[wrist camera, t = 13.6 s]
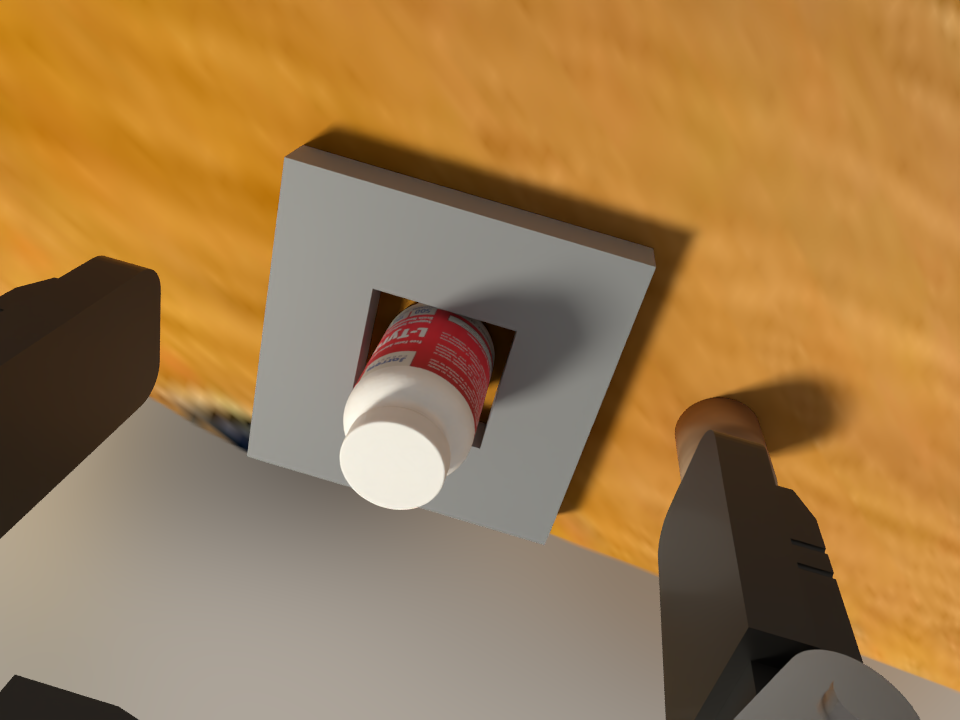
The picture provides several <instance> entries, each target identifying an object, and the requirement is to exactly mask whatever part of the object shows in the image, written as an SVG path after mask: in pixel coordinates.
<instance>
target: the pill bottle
mask: <svg viewBox="0 0 960 720" xmlns="http://www.w3.org/2000/svg"><path fill="white" fill-rule="evenodd" d="M494 359H495V352H494V346H493V342H492V339H491V337H490V334H489V332H488V331H487V329H486V327H485V326H484V325H483V323H482V322H481V321H480V320H477V319H473V318H470V317H467V316H463V315H460V314H457V313H453V312H450V311H446V310H443V309H440V308H436V307H433V306H430V305H426V304H423V303H417V304H415V305H412V306H410V307H408V308H406V309H405V310H403V311H402V312H401V313H400V314H399V315H398V316H397V317H396V318H395V319H394V320H393V321H392V323H391V324H390V326H389V327H388V329H387V330H386V332H385V334H384V335H383V337H382V339H381V341H380V343H379V344H378V346H377V348H376V350H375V351H374V353H373V355H372V357H371V358H370V360H369V362H368V364H367V365H366V367H365V369H364V371H363V372H362V374H361V376H360V378H359V379H358V381H357V383H356V384H355V386H354V388H353V390H352V392H351V394H350V396H349V398H348V400H347V403H346V406H345V409H344V416H343V426H344V432H345V436H346V437H345V439H344V441H343V443H342V446H341V449H340V466H341V469H342V472H343V475H344V477H345V479H346V480H347V482H348V483H349V485H350V486H351V487H352V488H353V489H354V490H355V491H356V492H357V493H358V494H359V495H360V496H362V497H363V498H365V499H366V500H368V501H369V502H371V503H373V504H376V505H378V506H381V507H385V508H390V509H397V510H406V509H413V508H416V507H420V506H422V505H424V504H426V503H428V502H429V501H431V500H432V499H433V498H434V497H435V496H436V495H437V494H438V493H439V492H440V490H441V488H442V486H443V484H444V481H445V479H446V476H447V475H449V474H451V473H452V472H453V471H455V470H456V469H457V468H458V467H459V466H460V465H461V464H462V463H463V461H464V460H465V459H466V457H467V455H468V453H469V451H470V449H471V446H472V444H473V441H474V437H475V433H476V430H477V426H478V422H479V418H480V415H481V411H482V408H483V404H484V400H485V396H486V393H487V389H488V386H489V382H490V379H491V375H492V371H493V366H494Z"/></svg>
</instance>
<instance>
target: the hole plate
mask: <svg viewBox="0 0 960 720" xmlns="http://www.w3.org/2000/svg"><path fill="white" fill-rule="evenodd" d="M655 268H656V264H655V257H654V250H653V248H650V247H646V246H643V245H640V244H636V243H633V242H630V241H626V240H623V239H619V238H616V237H613V236H609V235H606V234H602V233H599V232H596V231H592V230H589V229H586V228H582V227H579V226H575V225H572V224H569V223H565V222H562V221H559V220H555V219H552V218H548V217H545V216H542V215H538V214H535V213H532V212H528V211H525V210H521V209H518V208H515V207H511V206H508V205H504V204H501V203H498V202H494V201H491V200H488V199H484V198H481V197H477V196H474V195H471V194H467V193H464V192H461V191H457V190H454V189H450V188H447V187H444V186H440V185H437V184H434V183H430V182H427V181H423V180H420V179H417V178H413V177H410V176H406V175H403V174H400V173H396V172H393V171H390V170H386V169H383V168H379V167H376V166H373V165H369V164H366V163H363V162H359V161H356V160H352V159H349V158H346V157H342V156H339V155H336V154H332V153H329V152H325V151H322V150H319V149H315V148H312V147H308V146H305V145H302V146H301V147H299V148H298V149H296V150H295V151H293V152H292V153H290V154H289V155H287V156H286V157H285V158H284V166H283V174H282V182H281V190H280V198H279V206H278V214H277V222H276V230H275V238H274V246H273V254H272V262H271V270H270V278H269V286H268V294H267V302H266V310H265V318H264V326H263V334H262V342H261V350H260V358H259V366H258V374H257V382H256V390H255V398H254V406H253V414H252V422H251V430H250V438H249V446H248V454H247V456H248V457H251V458H254V459H257V460H261V461H264V462H267V463H271V464H274V465H278V466H281V467H284V468H288V469H291V470H294V471H298V472H301V473H305V474H308V475H311V476H314V477H318V478H321V479H324V480H328V481H331V482H335V483H338V484H341V485H345V486H348V487H351V486H350V485H349V483H348V482H347V480H346V479H345V477H344V475H343V472H342V469H341V466H340V449H341V446H342V443H343V441H344V439H345V437H346V436H345V432H344V426H343V416H344V409H345V406H346V403H347V400H348V398H349V396H350V394H351V392H352V390H353V388H354V386H355V384H356V383H357V381H358V379H359V378H360V376H361V374H362V372H363V371H364V369H365V366H366V361H367V356H368V351H369V347H370V342H371V337H372V332H373V327H374V322H375V318H376V313H377V308H378V303H379V298H380V293H381V291H382V292H386V293H389V294H392V295H396V296H399V297H403V298H406V299H409V300H413V301H416V302H419V303H423V304H426V305H430V306H433V307H436V308H440V309H443V310H446V311H450V312H453V313H457V314H460V315H463V316H467V317H470V318H473V319H477V320H480V321H483V322H487V323H490V324H494V325H497V326H500V327H504V328H507V329H510V330H514V331H515V334H514V337H513V341H512V344H511V347H510V350H509V353H508V356H507V360H506V363H505V366H504V369H503V372H502V376H501V379H500V382H499V385H498V388H497V391H496V395H495V398H494V401H493V404H492V407H491V411H490V414H489V417H488V420H487V423H486V424H485V423H482V422H478V426H477V430H476V433H475V437H474V441H473V444H472V446H471V449H470V451H469V453H468V455H467V457H466V459H465V460H464V461H463V463H462V464H461V465H460V466H459V467H458V468H457V469H456V470H455V471H453V472H452V473H451V474H449V475H447V476H446V479H445V481H444V484H443V486H442V488H441V490H440V492H439V493H438V494H437V495H436V496H435V497H434V498H433V499H432V500H431V501H429V502H428V503H426V504H424V505H422V506H420V507H418V508H422V509H426V510H428V511H432V512H435V513H439V514H442V515H445V516H449V517H452V518H456V519H459V520H462V521H465V522H469V523H472V524H475V525H479V526H482V527H486V528H489V529H492V530H496V531H499V532H502V533H506V534H509V535H513V536H516V537H519V538H522V539H526V540H529V541H533V542H536V543H539V544H543V545H545V543H546V540H547V538H548V536H549V533H550V531H551V528H552V526H553V523H554V521H555V518H556V516H557V513H558V511H559V508H560V506H561V503H562V501H563V498H564V496H565V493H566V491H567V488H568V486H569V483H570V481H571V478H572V476H573V473H574V471H575V468H576V466H577V463H578V461H579V458H580V456H581V453H582V451H583V448H584V446H585V443H586V441H587V438H588V436H589V433H590V431H591V428H592V426H593V423H594V421H595V418H596V416H597V413H598V411H599V408H600V406H601V403H602V401H603V398H604V396H605V393H606V391H607V388H608V386H609V383H610V381H611V378H612V376H613V373H614V371H615V368H616V366H617V363H618V361H619V358H620V356H621V353H622V351H623V348H624V346H625V343H626V341H627V338H628V336H629V333H630V331H631V328H632V326H633V323H634V321H635V318H636V316H637V313H638V311H639V308H640V306H641V303H642V301H643V298H644V296H645V293H646V291H647V288H648V286H649V283H650V281H651V278H652V276H653V273H654V271H655ZM351 488H352V487H351Z"/></svg>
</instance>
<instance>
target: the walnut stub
mask: <svg viewBox="0 0 960 720" xmlns="http://www.w3.org/2000/svg"><path fill="white" fill-rule="evenodd" d="M708 430H714V431H717V432H721V433H724V434H728V435H731V436H735V437H738V438H742V439H746V440H749V441H753V442H756V443H760V444H762V445H764V446H765V448H766V451H767V454H768V458H769V462H770V465H771V469H772V473H773V476H774V480H775V484H776V485H777V478H776V475H775V472H774V469H773V466H772V462H771V459H770V456H769V453H768V450H767V447H766V443H765V440H764V437H763V434H762V431H761V428H760V424H759V421H758V419H757V417H756V415H755V414H754V412H753V411H752V410H751V409H750V408H749V407H748V406H746V405H745V404H743V403H741V402H739V401H736V400H733V399H729V398H710V399H705V400H702V401H699V402H697V403H695V404H693V405H692V406H690V407H689V408H688V409H686V411H685V412H684V413H683V414H682V415H681V416H680V418H679V420H678V422H677V424H676V428H675V439H676V446H677V454H678V461H679V468H680V475H681V481H682V479H683V477H684V475H685V473H686V470H687V468H688V466H689V464H690V462H691V459H692V457H693V455H694V453H695V451H696V448H697V446H698V444H699V442H700V440H701V438H702V437H703V435H704V434H705V433H706V432H707V431H708ZM777 486H778V485H777Z"/></svg>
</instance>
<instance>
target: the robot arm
mask: <svg viewBox="0 0 960 720" xmlns="http://www.w3.org/2000/svg"><path fill="white" fill-rule="evenodd" d="M160 301H161V286H160V280H159V277H158V275H157V273H156V272H155V271H154V270H152V269H148V268H145V267H141V266H138V265H134V264H131V263H127V262H124V261H120V260H117V259H113V258H109V257H106V256H97V257H95V258H93V259H91V260H89V261H87V262H86V263H84V264H82V265H81V266H79V267H77V268H75V269H74V270H72V271H70V272H69V273H67V274H65V275H63V276H62V277H60V278H51V279H48V280H44V281H40V282H36V283H32V284H28V285H25V286H21V287H17V288H14V289H13V290H11V291H9V292H7V293H5V294H4V295H2V296H0V538H1V537H2V536H4V535H5V534H6V533H7V532H8V531H9V530H10V529H11V528H12V527H13V526H14V525H15V524H16V523H17V522H18V521H19V520H21V519H22V518H23V516H25V515H26V514H27V513H28V512H29V511H30V510H31V509H32V508H33V507H34V506H35V505H36V504H37V503H38V502H40V501H41V500H42V499H43V498H44V497H45V496H46V495H47V494H48V493H49V492H50V491H51V490H52V489H53V488H54V487H56V486H57V484H59V483H60V482H61V481H62V480H63V479H64V478H65V477H66V476H67V475H68V474H69V473H70V472H71V471H73V470H74V469H75V468H76V467H77V466H78V465H79V464H80V463H81V462H82V461H83V460H84V459H85V458H86V457H87V456H88V455H90V454H91V453H92V452H93V451H94V450H95V449H96V448H97V447H98V446H99V445H100V444H101V443H102V442H103V441H104V440H105V439H106V438H108V437H109V436H110V435H111V434H112V433H113V432H114V431H115V430H116V429H117V428H118V427H119V426H120V425H121V424H122V423H123V422H125V421H126V420H127V419H128V418H129V417H130V416H131V415H132V414H133V413H134V412H135V411H136V410H137V409H138V408H139V407H140V406H141V405H142V404H143V403H144V402H145V401H146V400H147V398H148V397H149V395H150V393H151V391H152V389H153V387H154V385H155V382H156V379H157V375H158V371H159V363H160ZM825 549H826V548H825V545H824V542H823V539H822V536H821V533H820V529H819V526H818V523H817V520H816V519H815V517H814V516H813V515H812V513H811V512H810V511H809V510H808V508H807V507H806V506H805V505H804V503H803V502H802V501H801V500H800V498H799V497H798V496H797V495H796V493H795V492H794V491H793V490H791V489H787V488H784V487H780V486H777V485H776V484H775V480H774V476H773V473H772V469H771V465H770V462H769V458H768V454H767V451H766V448H765V446H764V445H762V444H760V443H756V442H753V441H749V440H746V439H742V438H738V437H735V436H731V435H728V434H724V433H721V432H717V431H714V430H708V431H707V432H706V433H705V434H704V435H703V437H702V438H701V440H700V442H699V444H698V446H697V448H696V451H695V453H694V455H693V457H692V459H691V462H690V464H689V466H688V468H687V470H686V473H685V475H684V477H683V479H682V481H681V484H680V486H679V488H678V490H677V492H676V494H675V497H674V499H673V501H672V503H671V505H670V508H669V510H668V512H667V515H666V517H665V520H664V523H663V527H662V531H661V535H660V541H659V548H658V565H659V585H660V607H661V628H662V647H663V648H662V649H663V670H664V691H665V712H666V720H920V718H919V716H918V715H917V713H916V712H915V710H914V709H913V707H912V706H911V704H910V703H909V702H908V701H907V699H906V698H905V697H904V696H903V695H902V694H901V693H900V692H899V691H898V690H897V689H896V688H895V687H894V686H893V685H892V684H891V683H890V682H889V681H887V680H886V679H885V678H884V677H883V676H882V675H880V674H879V673H877V672H876V671H874V670H873V669H871V668H870V667H868V666H866V665H865V664H863V661H862V658H861V655H860V652H859V649H858V646H857V643H856V640H855V637H854V634H853V631H852V627H851V624H850V621H849V618H848V615H847V612H846V609H845V606H844V603H843V600H842V597H841V594H840V591H839V588H838V585H837V582H836V579H833V573H834V572H833V569H832V566H831V563H830V560H829V557H828V554H825ZM0 720H138V719H137V718H135V717H134V716H132V715H131V714H129V713H128V712H126V711H125V710H123V709H121V708H120V707H118V706H115V705H112V704H109V703H105V702H102V701H99V700H96V699H92V698H89V697H85V696H82V695H79V694H76V693H73V692H70V691H66V690H63V689H59V688H57V687H53V686H50V685H47V684H44V683H40V682H37V681H34V680H30V679H27V678H24V677H21V676H17V675H14V676H13V677H12V679H11V680H10V681H9V682H8V683H7V685H6V686H5V687H4V688H3V689H2V690H1V692H0Z"/></svg>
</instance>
